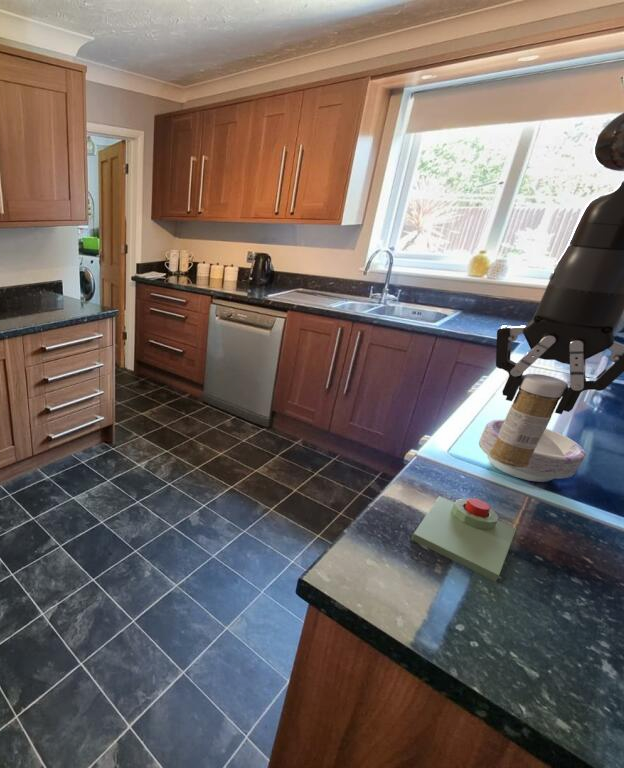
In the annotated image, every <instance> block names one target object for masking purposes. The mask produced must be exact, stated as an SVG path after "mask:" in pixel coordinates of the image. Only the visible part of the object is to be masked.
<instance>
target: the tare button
mask: <svg viewBox="0 0 624 768" xmlns="http://www.w3.org/2000/svg"><path fill="white" fill-rule="evenodd" d="M467 500H468V501H467V504H466V506H465V510H466V511H468V512H469V513H470V514H473V515H475V516H478V517H483V518H484V517H486V516H487V514H488V512H489V510H490V509H491V506H490V504H489V503H488V502H486V501H483V500H481V499H479V498H476V497H475V498H474V497H472V498H471V497H470V498H468V499H467Z"/></svg>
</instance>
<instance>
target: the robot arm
mask: <svg viewBox="0 0 624 768" xmlns="http://www.w3.org/2000/svg"><path fill="white" fill-rule="evenodd" d="M593 156H594V159H595V160H596V162H597V163H598V164H599V165H600V166H602V167H603V168H605V169H608V170H610V171H615V172H624V112H622V113H621V114H618V115H617V116H616V117H615V118H613V119H612V120H611V121H610V122H609V123H607V125H606V126H605V127H604V128H602V130H601V131H600V133H599V134H598V135H597V138H596V139H595V142H594V146H593ZM623 313H624V179H623V180H622V182H621V183H620V184H619V185H618V187H617V188H615V190H613V191H611V192H608V193H605V194H604V195H600V196H597V197H595V198H592V199H591V200H590V201H589V202H588V203H587V204H586V205H585V207H584V209H583V210H582V212H581V214H580V215H579V218H578V220H577V223H576V225H575V227H574V229H573V232H572V234H571V237H570V239H569V241H568V243H567V245H566V247H565V249H564V251H563V253H562V254H561V256H560V258H559V259H558V261H557V263H556V264H555V267H554V269H553V272H552V273H551V274H550V276H549V281H548V283H547V285H546V287H545V290H544V293H543V295H542V296H541V299H540V302H539V304H538V306H537V308H536V310H535V313H534V315H533V317H532V319H531V320H530V321H529V322H528V323H526V324H525V325H519V326H518V325H517V326H511V325H508V324H505V325H502V326H500V327H499V328H498V329H497V330H496V348H495V349H496V350H495V367H496V368H497V369H500V370H503V371H505V372H507V373H508V378H507V379H506V382H505V384H504V387H503V389H502V392H501V393H502V396H505V397H506V398H505V401H509V402H513V401H514V400H515V397H516V395H517V393H518V391H519V385H520V382H521V380H522V378H523V376H524V375H525V374H524V372H525V371H527V370H528V369H529V367H530V366H532V365H533V364H534V363H535V362H536V361H537V360H538V359H541V360H546V361H556V362H559V363H560V364H566V365H568V366H569V380H570V382H569V383H570V384H568V387H567V389H566V391H565V393H564V395H563V396H562V397H561V399H560V400H559V401H558V403H557V405H556V406H557V407H556V408H555V410H554V413H555V414H558V415H563V413H564V412H567V413H569V412H571V411H572V410H573V409H574V407H575V405H576V403H577V401H578V399H579V397H580V395H581V393H582V392H584V391H593V390H594V391H599V392H602V391H604V390H606V389H607V388H608V387H609V386H610V385H611V384H612V383H613V382H614V381H616V380H617V378H619V377H620V376H621V375H622V374H623V373H624V344H623V343H620V342H618V341H615V336H614V331H615V329H616V327H617V325H618V323H619V321H620V320H621V317H622V315H623ZM520 335H524V338H525V340H526V342H527V343H528V346H529V348H530V350H528V352H527V353H526V354H525V355H524V356H523V357H522V358H521V359H520V360H518V361H517V362H515V361H513V360H511V354H512V353H511V350H512V343H513V342H515V341H516V340H518V338H519V336H520ZM607 350H610V354H609V357H608V358H609V360H610V361H611V363H610V364H609V365H607V367H605V368H604V369H603V370H602V371H601V372H600V373H599V374H598V375H597V376H596V377H588V378H587V377H586V367H587V366H586V365H587V364H586V360H588V359H590V358H592V357H594V356H596V355H599V354H600V353H602V352H603V351H607Z"/></svg>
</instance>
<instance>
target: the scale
mask: <svg viewBox="0 0 624 768" xmlns="http://www.w3.org/2000/svg"><path fill="white" fill-rule="evenodd" d="M467 501H468V499H467V498H459V499H456V500H455V501H452V500H450V499H448V498H445V497H443V496H440V495H439V496H438V497H437V499H436V500H435V501H434V503H433V504H432V506H431V507H430V509H429V511H427V513H426V515H425V516H424V517H423V519H422V521H421V522H420V524H419V525H418V527H416V529H415V531H414V532H413V534H412V537H411V541H412V542H415V543H417V544H419V545H421V546H423V547H425V548H427V549H429V550H430V551H433V552H435V553H437V554H439V555H440V556H443V557H445V558H447V559H449V560H451V561H453V562H454V563H457V564H458V565H459V564H460V565H461V566H463V567H464V568H468V569H469V570H471V571H473V572H475V573H477V574H479V575H481V576H482V577H485V578H487V579H489V580H491V581H493V582H497V581H498V579H499V577H500V576H501V575H500V574H501V572H502V569H503V567H504V565H505V562H506V559H507V556H508V554H509V551H510V548H511V546H512V542H513V540H514V538H515V535H516V532H517V527H514V526H512V525H510V524H507V523H505V522H503V521H501V520H499V516H498V514H497V512H495V510H493V509H492V508H490V510H489V512H488V514H487V516H486V517H484V518H483V517H478V516H475V515H473V514H470V513H469V512H468V511H466V510H465V506H466V504H467Z"/></svg>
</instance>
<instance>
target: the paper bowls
mask: <svg viewBox="0 0 624 768" xmlns="http://www.w3.org/2000/svg"><path fill="white" fill-rule="evenodd" d="M504 421H505V419H494V420H491V421H489V422H487V423H486V424H485V427H484V429H483V431H482V433H481V436H480V438H479V440H478V445H479V448H480V449H481V450H482V451H483V453H484V454H486V457H487V460H488V461H489V462H490V464H491V465H492V466H493V467H494V468H496V469H498V470H499V471H501V472H503V473H505V474H508V475H509V476H512V477H514V478H517V479H521V480H525V481H530V482H534V483H535V482H536V483H545V482H549V481H552V480H555V479H557V480H558V479H568V478H572V477H573V476H574V475H575V474H576V472H577V471H578V470H579V468H580V466H581V465H582V463H583V461H584V459H585V458H586V454H587V453H586V451H585V449H584V448H583V447H582V446H581V445H580V444H579V443H577V442H576V441H574V440H573V439H572V438H570V437H568V436H565V435H564V434H562V433H559V432H557V431H555V430H552V429H549V428H547V427H546V429H545V431H544V433H543V435H542V437H541V439H540V441H539V443H538V445H537V447H536V448H535V450H534V452H533V454H532V456H531V458H530V460H529V465H528V466H526V467H513V466H509V465H506V464H503V463H501V462H499V461H497V460H495V459H494V458H493V457H492V456H491V455H490V451H491V450H492V449H493V447H494V444H495V442H496V440H497V438H498V434H499V432H500V430H501V427H502V425H503V423H504Z"/></svg>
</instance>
